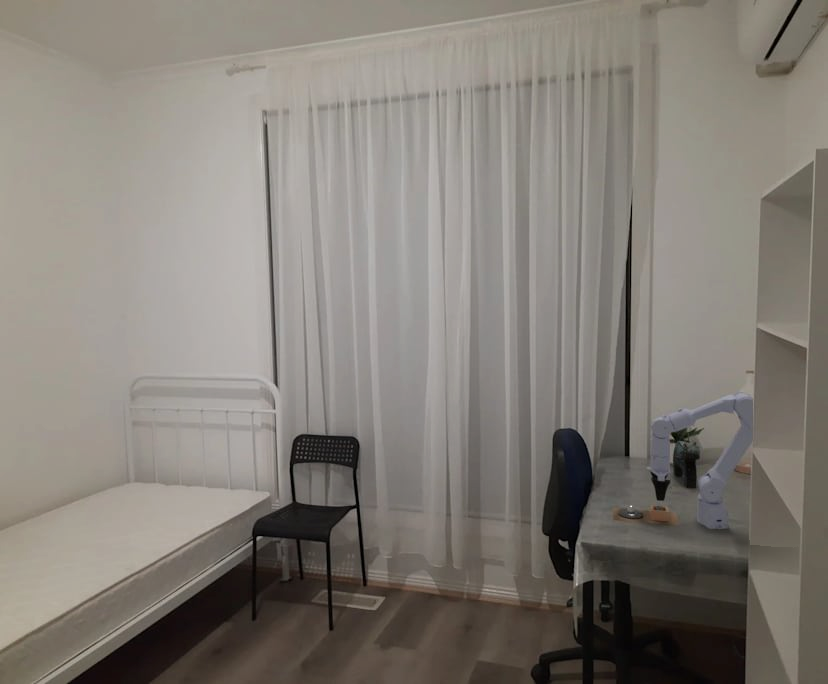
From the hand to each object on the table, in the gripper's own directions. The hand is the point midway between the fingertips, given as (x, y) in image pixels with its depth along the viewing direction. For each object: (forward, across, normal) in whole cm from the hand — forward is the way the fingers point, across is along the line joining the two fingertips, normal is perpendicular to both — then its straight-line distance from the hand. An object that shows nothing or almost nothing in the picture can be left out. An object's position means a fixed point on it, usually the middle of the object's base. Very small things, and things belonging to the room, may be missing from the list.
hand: (659, 496), depth 204 cm
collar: (+7, 0, 0) cm, 7 cm away
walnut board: (+8, 0, -4) cm, 9 cm away
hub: (+7, 0, -9) cm, 11 cm away
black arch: (+9, -48, +11) cm, 50 cm away
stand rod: (+7, 0, 0) cm, 7 cm away
